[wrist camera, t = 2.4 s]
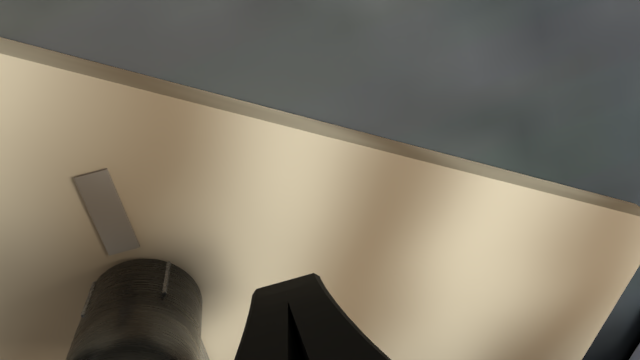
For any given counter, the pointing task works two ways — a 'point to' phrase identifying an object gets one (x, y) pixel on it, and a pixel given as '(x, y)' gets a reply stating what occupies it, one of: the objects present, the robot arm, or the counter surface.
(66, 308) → the board
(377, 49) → the counter surface
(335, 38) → the counter surface
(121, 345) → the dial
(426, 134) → the counter surface
